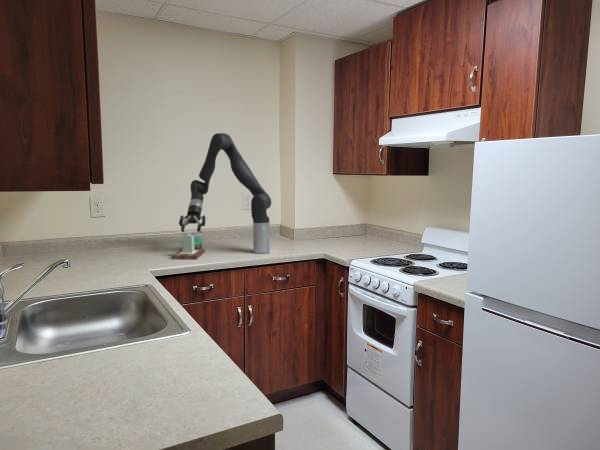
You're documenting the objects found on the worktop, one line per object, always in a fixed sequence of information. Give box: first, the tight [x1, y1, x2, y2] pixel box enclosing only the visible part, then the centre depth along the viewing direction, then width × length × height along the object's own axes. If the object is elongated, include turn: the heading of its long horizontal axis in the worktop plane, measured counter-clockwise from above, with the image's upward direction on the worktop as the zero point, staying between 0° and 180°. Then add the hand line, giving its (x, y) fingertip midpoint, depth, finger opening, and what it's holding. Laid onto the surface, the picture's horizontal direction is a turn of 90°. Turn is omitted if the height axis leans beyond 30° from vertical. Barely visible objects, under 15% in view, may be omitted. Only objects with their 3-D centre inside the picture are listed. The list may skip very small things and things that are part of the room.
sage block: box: [181, 233, 195, 253], centre depth 245 cm, size 5×5×10 cm
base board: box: [171, 248, 206, 260], centre depth 246 cm, size 13×18×2 cm
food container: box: [184, 230, 204, 249], centre depth 263 cm, size 12×6×10 cm, turn 143°
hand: (190, 231), depth 248 cm, fingers open, 8 cm apart
